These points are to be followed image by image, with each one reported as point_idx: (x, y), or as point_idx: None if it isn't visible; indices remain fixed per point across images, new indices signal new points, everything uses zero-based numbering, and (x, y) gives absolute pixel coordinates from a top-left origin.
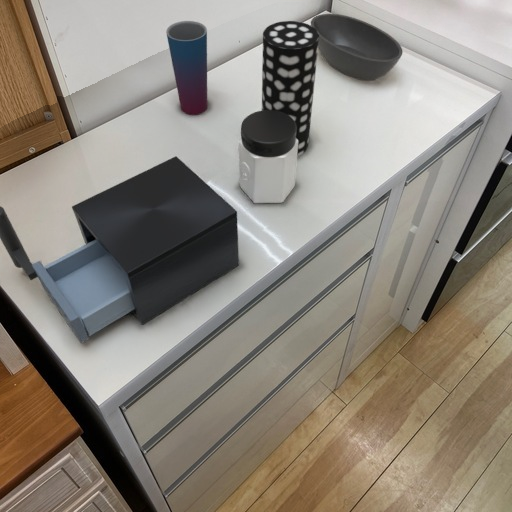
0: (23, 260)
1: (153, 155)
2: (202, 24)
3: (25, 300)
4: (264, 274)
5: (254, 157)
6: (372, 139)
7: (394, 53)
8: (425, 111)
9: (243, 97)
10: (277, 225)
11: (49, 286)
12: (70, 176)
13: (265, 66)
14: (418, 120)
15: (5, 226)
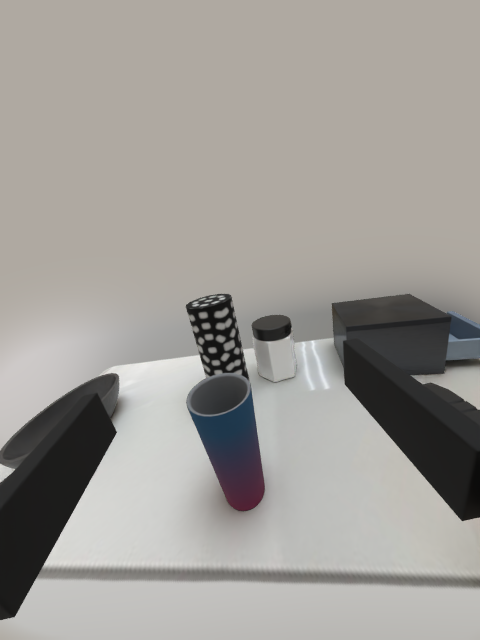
0: None
1: (346, 441)
2: (189, 393)
3: None
4: (324, 339)
5: (291, 328)
6: (191, 370)
7: (93, 386)
8: (145, 372)
9: (188, 461)
10: (296, 352)
11: (473, 322)
12: None
13: (233, 321)
14: (157, 370)
15: None
